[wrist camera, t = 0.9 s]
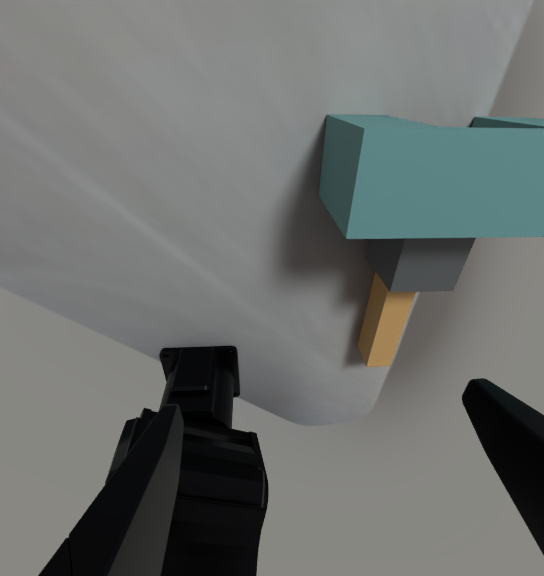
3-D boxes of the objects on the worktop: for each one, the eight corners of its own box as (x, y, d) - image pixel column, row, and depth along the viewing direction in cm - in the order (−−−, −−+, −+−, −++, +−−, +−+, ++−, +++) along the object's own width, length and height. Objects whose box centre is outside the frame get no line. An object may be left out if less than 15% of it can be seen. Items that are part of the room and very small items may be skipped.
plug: (389, 344, 27) (412, 385, 23) (346, 345, 27) (362, 387, 23) (441, 187, 19) (487, 211, 16) (380, 187, 19) (413, 212, 15)
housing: (496, 195, 20) (589, 236, 15) (318, 195, 19) (345, 239, 14) (530, 117, 17) (657, 132, 12) (326, 114, 17) (364, 128, 11)
